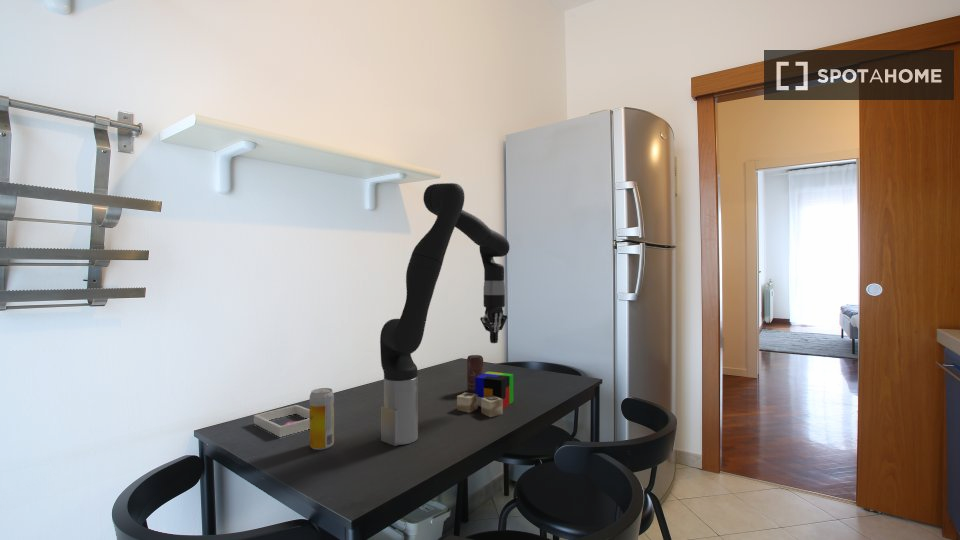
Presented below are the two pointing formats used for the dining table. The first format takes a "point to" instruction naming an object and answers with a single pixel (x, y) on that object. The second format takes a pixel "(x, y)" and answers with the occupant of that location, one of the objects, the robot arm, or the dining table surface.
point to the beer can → (321, 418)
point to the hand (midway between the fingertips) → (494, 342)
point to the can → (473, 371)
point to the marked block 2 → (492, 406)
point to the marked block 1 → (467, 402)
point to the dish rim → (285, 429)
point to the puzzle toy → (494, 386)
